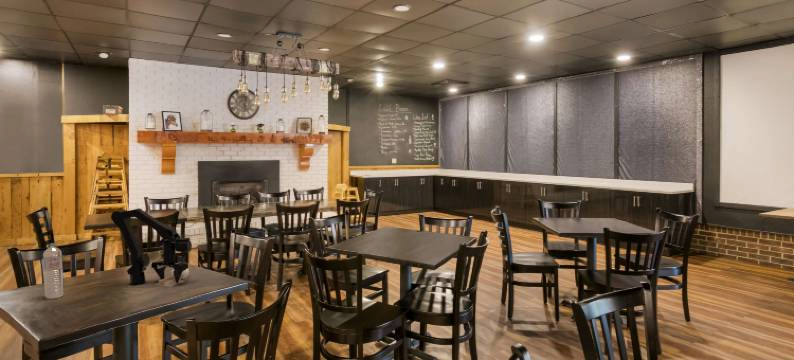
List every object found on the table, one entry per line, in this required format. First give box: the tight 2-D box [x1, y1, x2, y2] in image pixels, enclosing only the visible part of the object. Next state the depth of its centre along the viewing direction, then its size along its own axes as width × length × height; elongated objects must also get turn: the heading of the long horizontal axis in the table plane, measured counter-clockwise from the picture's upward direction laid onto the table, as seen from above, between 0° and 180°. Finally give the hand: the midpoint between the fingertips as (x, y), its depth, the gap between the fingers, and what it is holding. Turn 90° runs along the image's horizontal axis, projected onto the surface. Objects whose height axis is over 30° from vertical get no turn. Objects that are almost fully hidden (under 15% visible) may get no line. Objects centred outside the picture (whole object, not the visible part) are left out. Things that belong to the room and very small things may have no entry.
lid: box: [158, 275, 182, 287], centre depth 231 cm, size 6×8×2 cm
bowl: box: [170, 267, 190, 280], centre depth 242 cm, size 8×8×5 cm
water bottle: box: [42, 242, 64, 300], centre depth 209 cm, size 7×7×25 cm
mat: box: [154, 280, 185, 287], centre depth 231 cm, size 10×10×1 cm
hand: (170, 281), depth 231 cm, fingers open, 9 cm apart
